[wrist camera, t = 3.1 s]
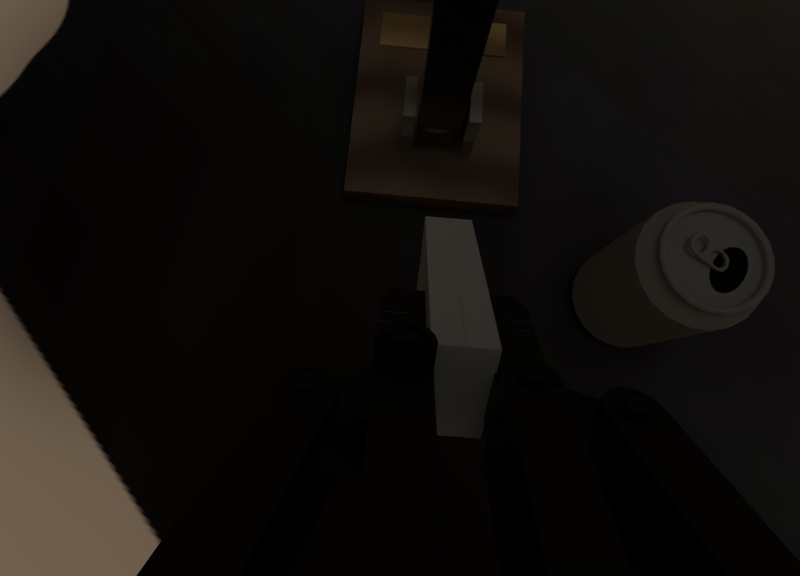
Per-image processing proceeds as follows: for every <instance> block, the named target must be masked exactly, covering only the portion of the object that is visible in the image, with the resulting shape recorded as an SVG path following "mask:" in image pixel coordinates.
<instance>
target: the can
mask: <svg viewBox="0 0 800 576" xmlns="http://www.w3.org/2000/svg"><path fill="white" fill-rule="evenodd" d="M774 276H775V258H774V255H773V252H772V248H771V245H770V242H769V240H768V238H767V237H766V235H765V234H764V232H763V231H762V229H761V228H760V226H759V225H758V224H757V223H755V222H754V221H753V220H752V219H751V218H750V217H749V216H747V215H746V214H745V213H743V212H741V211H739V210H737V209H735V208H733V207H731V206H729V205H725V204H719V203H714V202H706V203H700V202H694V201H692V202H684V203H676V204H672V205H670V206H668V207H666V208H664V209H662V210H660V211H658V212H656V213H655V214H653V215H652V216H650V217H649V218H647V219H646V220H644V221H643V222H641V223H640V224H638V225H637V226H635V227H634V228H632V229H631V230H629V231H628V232H626V233H625V234H624V235H622V236H621V237H619V238H618V239H616V240H615V241H613V242H612V243H610V244H609V245H607V246H606V247H604V248H603V249H601V250H600V251H598V252H597V253H596V254H594V255H593V256H591V257H590V258H589V259H588V260H587V261H586V262H585V263H584V264H583V265H582V266H581V267H580V268H579V270H578V272H577V274H576V277H575V279H574V281H573V290H572V299H573V304H574V308H575V312H576V314H577V316H578V318H579V319H580V321H581V323H582V325H583V326H584V327H585V328H586V329H587V330H588V331H589V332H590V333H591V334H592V335H593V336H594V337H595V338H597V339H599V340H601V341H603V342H605V343H607V344H609V345H612V346H617V347H623V348H629V347H636V346H643V345H647V344H652V343H657V342H662V341H667V340H672V339H677V338H682V337H686V336H691V335H696V334H701V333H706V332H711V331H716V330H720V329H725V328H730V327H731V326H733V325H735V324H737V323H739V322H741V321H743V320H745V319H746V318H747V317H748V316H749V315H750V314H751V313H752V311H753V310H754V309H755V308H756V307H757V306H758V305H759V303H760V301H761V300H762V299H763V298H764V297H765V296H766V294H767V293H768V292H769V290H770V287H771V284H772V282H773V279H774Z"/></svg>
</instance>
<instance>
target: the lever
mask: <svg viewBox="0 0 800 576" xmlns="http://www.w3.org/2000/svg"><path fill="white" fill-rule="evenodd" d="M498 2H499V0H433V7H432V15H431V23H430V30H429V38H428V46H427V53H426V61H425V69H424V76H423V84H422V92H421V99H420V106H419V114H418V125H417V137H416V140H424V141H434V142H445V143H455V144H457V143H458V141H459V136H460V131H461V128H462V124H463V121H464V117H465V114H466V111H467V107H468V104H469V101H470V97H471V94H472V90H473V87H474V84H475V80H476V77H477V73H478V70H479V67H480V63H481V60H482V56H483V53H484V50H485V46H486V43H487V40H488V36H489V33H490V29H491V26H492V23H493V19H494V16H495V12H496V9H497V6H498Z"/></svg>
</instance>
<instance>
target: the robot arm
mask: <svg viewBox="0 0 800 576" xmlns="http://www.w3.org/2000/svg"><path fill="white" fill-rule="evenodd" d="M484 423H485V430H486V436H487V440H486V444H485V448H484V452H483V456H482V460H481V464H480V468H479V474H478V479H483V476H484V472H486V479H487V486H488V493H489V500H490V507H491V515H492V522H493V529H494V536H495V543H496V550H497V557H498V564H499V572H500V576H800V562H799V561H798V560H797V558H796V557H795V556H794V555H793V554H792V553H791V552H790V551H789V549H788V548H787V547H786V546H785V545H784V544H783V543H782V541H781V540H780V539H779V538H778V537H777V536H776V535H775V534H774V532H773V531H772V530H771V529H770V528H769V527H768V526H767V524H766V523H765V522H764V521H763V520H762V519H761V518H760V516H759V515H758V514H757V513H756V512H755V511H754V510H753V509H752V507H751V506H750V505H749V504H748V503H747V502H746V501H745V499H744V498H743V497H742V496H741V495H740V494H739V493H738V491H737V490H736V489H735V488H734V487H733V486H732V485H731V484H730V482H729V481H728V480H727V479H726V478H725V477H724V476H723V474H722V473H721V472H720V471H719V470H718V469H717V468H716V467H715V465H714V464H713V463H712V462H711V461H710V460H709V459H708V457H707V456H706V455H705V454H704V453H703V452H702V451H701V449H700V448H699V447H698V446H697V445H696V444H695V443H694V442H693V440H692V439H691V438H690V437H689V436H688V435H687V434H686V432H685V431H684V430H683V429H682V428H681V427H680V426H679V424H678V423H677V422H676V421H675V420H674V419H673V418H672V417H671V415H670V414H669V413H668V412H667V411H666V410H665V409H664V407H663V406H662V405H660V404H659V403H658V402H657V401H656V400H655V399H654V398H652V397H650V396H648V395H646V394H645V393H643V392H641V391H637V390H634V389H631V388H621V387H617V388H613V389H610V390H608V391H607V392H606V393H605V394H604V395H603V397H602V399H597V398H594V397H591V396H587V395H584V394H581V393H578V392H576V391H573V390H570V389H569V388H567V387H565V384H564V381H563V380H562V378H561V377H560V375H559V374H558V373H557V372H556V371H555V370H554V369H552V368H551V367H550V366H547V365H546V363H545V361H544V358H543V355H542V352H541V349H540V346H539V343H538V340H537V337H536V334H535V332H534V328H533V325H532V322H531V319H530V316H529V313H528V310H527V308H526V307H525V306H524V305H523V304H522V303H521V302H520V301H519V300H518V299H517V298H516V297H511V296H499V295H489V292H488V287H487V283H486V279H485V275H484V270H483V266H482V262H481V258H480V253H479V249H478V245H477V241H476V236H475V232H474V228H473V224H472V220H463V219H451V218H439V217H427V216H425V224H424V233H423V241H422V250H421V259H420V267H419V276H418V285H417V290H408V289H396V288H389V289H388V290H387V291H386V293H385V294H384V295H383V296H382V297H381V303H380V312H379V322H378V332H377V334H376V336H375V347H374V361H373V362H372V364H371V365H370V366H369V367H368V368H367V369H366V370H364V371H363V372H361V373H358V374H356V375H353V376H349V377H344V378H338V379H337V377H336V376H335V375H334V374H333V373H332V372H331V371H330V370H328V369H325V368H323V367H320V366H314V365H303V366H297V367H294V368H292V369H289V370H287V371H285V372H284V373H283V374H282V375H281V376H280V377H278V378H277V380H276V381H275V382H274V384H273V385H272V387H271V388H270V389H269V391H268V392H267V394H266V395H265V396H264V398H263V399H262V401H261V402H260V403H259V405H258V406H257V408H256V409H255V410H254V412H253V413H252V415H251V416H250V417H249V419H248V420H247V422H246V423H245V424H244V426H243V427H242V429H241V430H240V431H239V433H238V434H237V436H236V437H235V439H234V440H233V441H232V443H231V444H230V446H229V447H228V448H227V450H226V451H225V453H224V454H223V455H222V457H221V458H220V460H219V461H218V462H217V464H216V465H215V467H214V468H213V469H212V471H211V472H210V474H209V475H208V476H207V478H206V479H205V481H204V482H203V483H202V485H201V486H200V488H199V489H198V490H197V492H196V493H195V495H194V496H193V497H192V499H191V500H190V502H189V503H188V504H187V506H186V507H185V509H184V510H183V511H182V513H181V514H180V516H179V517H178V518H177V520H176V521H175V523H174V524H173V525H172V527H171V528H170V530H169V531H168V532H167V534H166V535H165V537H164V538H163V539H162V541H161V542H160V544H159V545H158V547H157V548H156V549H155V551H154V552H153V554H152V555H151V556H150V558H149V559H148V561H147V562H146V564H145V565H144V566H143V568H142V569H141V570H140V572H139V573H138V575H137V576H292V574H293V572H294V570H295V568H296V565H297V563H298V561H299V559H300V556H301V554H302V552H303V550H304V548H305V545H306V543H307V541H308V539H309V536H310V534H311V532H312V530H313V527H314V525H315V523H316V521H317V519H318V516H319V514H320V512H321V510H322V507H323V505H324V503H325V501H326V498H327V496H328V494H329V492H330V490H331V487H332V485H333V483H334V481H335V478H336V474H337V473H341V472H345V471H350V470H354V469H359V468H363V473H362V483H361V493H360V503H359V513H358V523H357V533H356V543H355V553H354V563H353V573H352V576H445V575H444V556H443V537H442V519H441V500H440V481H439V462H438V444H437V435H440V436H454V437H468V438H481V436H482V431H483V427H484ZM638 484H639V485H638ZM639 486H640V487H641V488H640V487H639ZM641 489H642V490H643V491H642V490H641Z"/></svg>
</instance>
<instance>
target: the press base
mask: <svg viewBox="0 0 800 576" xmlns="http://www.w3.org/2000/svg"><path fill="white" fill-rule="evenodd" d="M432 7H433V3H428V2H418V1H408V0H366V5H365V13H364V22H363V31H362V39H361V48H360V56H359V65H358V74H357V82H356V91H355V99H354V108H353V117H352V125H351V134H350V142H349V151H348V159H347V168H346V177H345V185H344V193H345V199H346V201H355V202H366V203H377V204H388V205H398V206H409V207H420V208H431V209H442V210H452V211H463V212H474V213H485V214H496V215H506V216H512V214H513V213H514V211H515V210H516V209H517V207H518V195H519V166H520V136H521V106H522V76H523V47H524V17H525V12H518V11H508V10H498V9H496V12H495V16H494V19H493V23H492V26H491V29H490V33H489V36H488V40H487V43H486V46H485V50H484V53H483V56H482V60H481V63H480V67H479V70H478V73H477V77H476V80H475V84H474V87H473V90H472V94H471V97H470V101H469V104H468V107H467V111H466V114H465V117H464V121H463V124H462V128H461V131H460V136H459V141H458V143H457V144H455V143H445V142H434V141H424V140H416V137H417V125H418V114H419V106H420V99H421V92H422V84H423V76H424V69H425V61H426V53H427V46H428V38H429V30H430V23H431V15H432Z"/></svg>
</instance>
